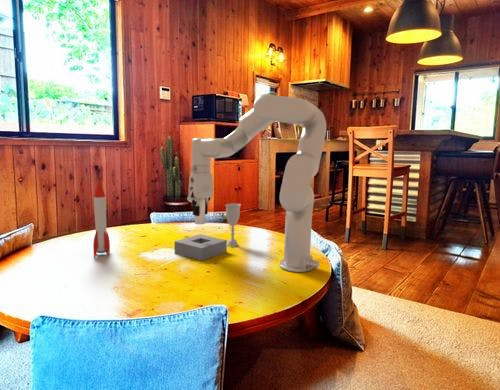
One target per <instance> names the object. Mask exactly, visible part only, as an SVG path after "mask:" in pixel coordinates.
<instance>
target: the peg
mask: <svg viewBox="0 0 500 390" xmlns="http://www.w3.org/2000/svg"><path fill="white" fill-rule="evenodd" d="M195 201H196V199H195ZM198 206H200V215H199V216H195V215H194V224H195V225H205V224H206V214H205V198H203V199H199V205H198Z"/></svg>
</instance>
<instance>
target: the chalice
mask: <svg viewBox="0 0 500 390" xmlns="http://www.w3.org/2000/svg"><path fill="white" fill-rule="evenodd" d="M241 205H242V204H241V203H226V204H224V206H225V207H226V209H225V216H226V221H227V223H228V225H229V226H231V229H230V231H231V233H230V236H231V237H230V239H228V240H227V247H234V248H235V247H238V246H239V244H238V241H237V239H235V238H234V237H235V226H237V224H238V221H239V219H240V216H241V215H240V213H241V210H240V209H241Z"/></svg>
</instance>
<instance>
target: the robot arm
mask: <svg viewBox="0 0 500 390" xmlns="http://www.w3.org/2000/svg"><path fill="white" fill-rule="evenodd" d="M275 122H279V123H286V124H291V125H297V126H301V127H302V131H301V134H300V136H299V142H298V146H297V151H296V154H294V155H292V156H290V158H289V159H288V160H287V163H286V165H285V169H284V172H283V177H282V183H281V186H280V191H279V203H280V205H281V207H282V208H283V209H284V210H285V211H286V213H285V219H284V220H285V222H284V251H283V259H282V260H280V261H279V267H280V268H282V269H283V270H284V271H288V272H292V273H306V272H309V271H312V270H313V269H314V268H316V269H318V268H320V261H319V260H314V258H313V254H311V243H312V226H313V225H312V221H313V209H314V203H315V194H314V190H313V188H312V186H311V185H312V179H313V178H314V177H315V176H317V174H318V171H319V168H320V162H321V159H322V154H323V149H324V145H325V144H324V143H325V141H326V136H327V135H326V134H327V120H326V118H325V115H324V113H323V112H322V111H321V110H320V108H318V107H317V106H316V105H315V104H313V103H312V102H310V101H308V100H305V99H302V98H298V97H292V96H283V95H276V94H269V93H264V94H261V95H260V96H258V97H257V98H256V99H255V100H254V102H253V107H252V108H251V109H250V110H249V111H247V112H246V113H245V114H244V115H241V117H240V118H239V119H238V126H237V127H236V128H235V130H233V131H232V132H231V133H230V134H228V135H227V136H225V137H222V138H221V137H220V138H219V137H218V138H217V137H216V138H205V137H204V138H203V137H195V138H192V139H191V159H190V160H191V161H190V162H191V166H190V171H191V172H190V175H189V179H188V180H189V181H188V195H187V198H186V200H187V201H188V202H189V203H190V205H191V206H192V216H194V217H195V216H199V215H200V206H198V205H199V199H203V198H205V215H207V214H208V211H209V210H208V208H209V206H208V205H209V204H210V201H211V199H212V198H213V197H214V183H213V182H214V181H213V180H214V179H213V175H212V172H211V164H212V163H211V159H221V158H229V157H231V156H233V155H234V154H236V153H237V152H239V151H240V150H242V149H243V148H244V147H245V146H246V145H247V144H248V143H249V142H251V141H252V140H253V139H254V137H255V136H257V135H258V134H260V133H261V132H263V130H265V129H267V128H268V127H269V126H270V125H272V124H273V123H275ZM195 199H196V201H195Z"/></svg>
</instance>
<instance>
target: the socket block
mask: <svg viewBox="0 0 500 390" xmlns="http://www.w3.org/2000/svg"><path fill="white" fill-rule="evenodd" d="M227 244H228V240H227V239H223V238H219V237H216V236H215V237H214V236H210V235H204V234H200V233H199V234H196V235H193V236H189V237H185V238H181V239H178V240H175V241H174V254H176V255H180V256H183V257H187V258H190V259H194V260H197V261H202V262H203V261H205V260H208V259H211V258H214V257H216V256H219V255H221V254H222V255H223V254H224V253H227V251H228V250H227V249H228V248H227V247H228V246H227Z"/></svg>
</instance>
